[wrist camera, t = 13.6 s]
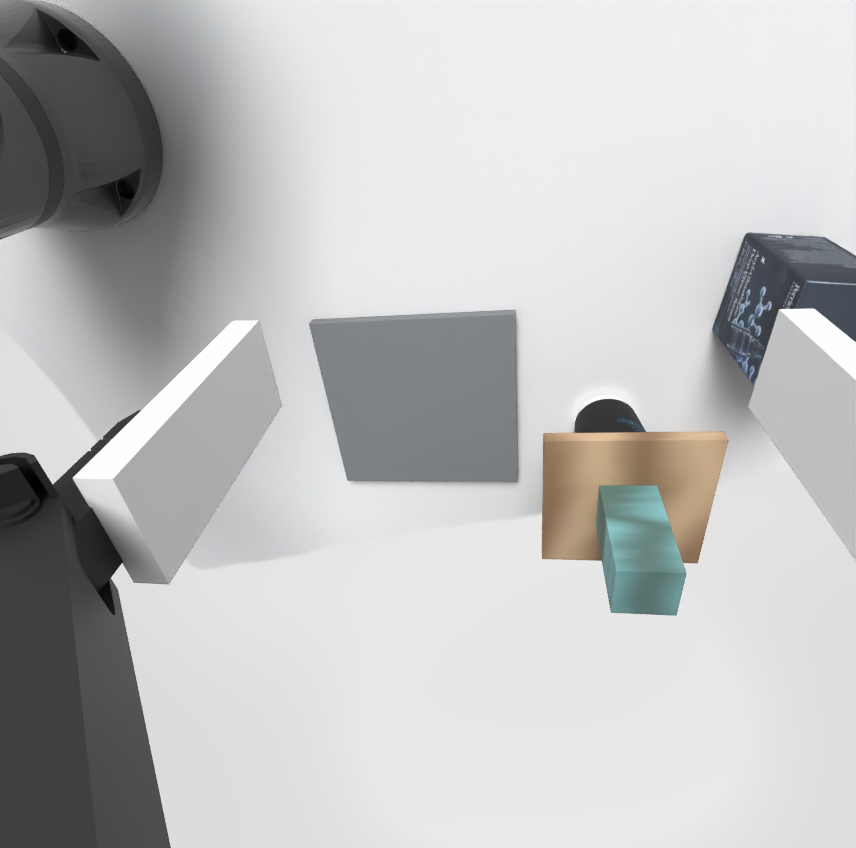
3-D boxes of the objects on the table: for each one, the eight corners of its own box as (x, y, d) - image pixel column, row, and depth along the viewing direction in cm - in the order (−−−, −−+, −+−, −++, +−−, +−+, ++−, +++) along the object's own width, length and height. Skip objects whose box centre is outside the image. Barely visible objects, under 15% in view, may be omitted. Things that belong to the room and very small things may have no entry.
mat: (349, 474, 58) (347, 480, 57) (312, 319, 48) (309, 324, 47) (517, 475, 55) (517, 481, 54) (514, 309, 45) (514, 314, 44)
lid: (541, 549, 45) (547, 645, 37) (543, 433, 38) (550, 522, 31) (694, 553, 43) (731, 656, 35) (723, 431, 36) (777, 525, 29)
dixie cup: (659, 384, 47) (693, 461, 38) (637, 455, 51) (662, 538, 42) (567, 376, 47) (580, 449, 38) (553, 447, 52) (562, 527, 43)
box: (742, 231, 39) (807, 279, 30) (824, 235, 38) (915, 285, 30) (709, 329, 43) (757, 396, 35) (782, 334, 43) (849, 403, 34)
